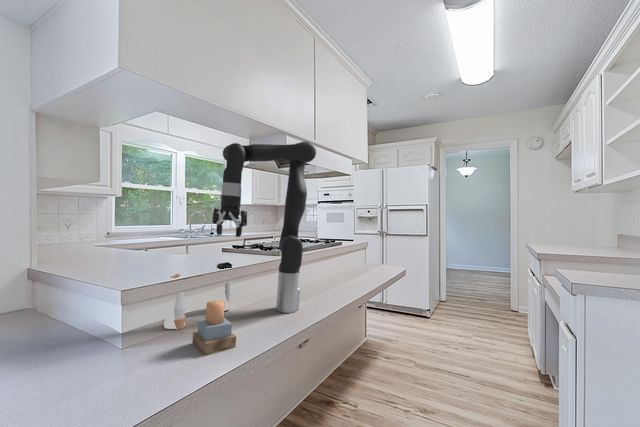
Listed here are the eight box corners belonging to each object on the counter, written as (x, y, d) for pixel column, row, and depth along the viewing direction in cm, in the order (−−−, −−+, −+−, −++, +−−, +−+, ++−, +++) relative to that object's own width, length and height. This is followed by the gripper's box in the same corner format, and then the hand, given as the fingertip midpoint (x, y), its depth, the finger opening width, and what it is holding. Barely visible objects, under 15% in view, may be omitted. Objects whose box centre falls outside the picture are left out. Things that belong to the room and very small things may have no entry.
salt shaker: (174, 321, 120) (177, 270, 119) (189, 324, 117) (192, 273, 117) (158, 327, 113) (161, 274, 113) (174, 331, 111) (177, 277, 110)
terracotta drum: (219, 317, 107) (220, 299, 106) (226, 322, 102) (227, 304, 102) (202, 320, 103) (203, 302, 103) (209, 325, 99) (211, 306, 99)
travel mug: (231, 308, 139) (234, 262, 138) (225, 313, 132) (228, 265, 132) (218, 306, 140) (221, 261, 139) (211, 311, 133) (214, 264, 133)
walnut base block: (221, 337, 109) (222, 326, 109) (235, 348, 102) (236, 336, 102) (192, 344, 103) (193, 332, 102) (205, 357, 95) (205, 343, 95)
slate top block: (221, 327, 108) (222, 315, 108) (230, 335, 102) (231, 323, 102) (197, 331, 103) (198, 319, 103) (206, 341, 97) (206, 328, 97)
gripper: (210, 193, 123) (207, 234, 124) (241, 195, 119) (239, 238, 119) (221, 194, 131) (219, 233, 131) (252, 196, 126) (249, 236, 127)
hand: (228, 235), depth 125 cm, fingers open, 8 cm apart
